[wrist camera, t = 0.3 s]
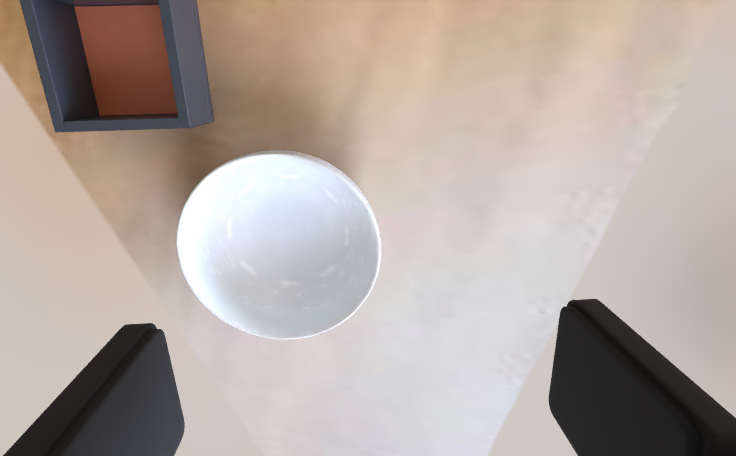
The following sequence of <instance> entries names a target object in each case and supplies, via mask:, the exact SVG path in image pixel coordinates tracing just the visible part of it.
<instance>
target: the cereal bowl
mask: <svg viewBox="0 0 736 456" xmlns="http://www.w3.org/2000/svg"><path fill="white" fill-rule="evenodd" d="M176 246H177V254H178V259H179V263H180V267H181V270H182V272H183V275H184V277H185V279H186V281H187V283H188V285H189V286H190V288H191V290H192V291H193V293H194V294H195V295H196V297H197V298H198V299H199V301H200V302H201V303H202V304H203V305H204V306H205V307H206V308H207V309H208V310H209V311H210V312H211V313H213V314H214V315H215V316H216V317H218V318H219V319H221V320H222V321H224V322H225V323H227V324H229V325H231V326H233V327H235V328H237V329H239V330H241V331H243V332H246V333H249V334H252V335H255V336H259V337H264V338H271V339H299V338H305V337H310V336H314V335H317V334H320V333H323V332H325V331H328V330H330V329H332V328H334V327H336V326H338V325H339V324H341V323H342V322H344V321H345V320H347V319H348V318H349V317H350V316H351V315H353V314H354V313H355V312H356V311H357V310H358V309H359V307H360V306H361V305H362V304H363V302H364V301H365V300H366V298H367V297H368V295H369V294H370V292H371V290H372V288H373V285H374V283H375V280H376V277H377V274H378V271H379V266H380V259H381V240H380V234H379V229H378V226H377V222H376V219H375V216H374V214H373V211H372V209H371V207H370V205H369V203H368V202H367V199H366V198H365V196H364V195H363V193H362V192H361V191H360V189H359V188H358V187H357V186H356V184H355V183H353V181H352V180H351V179H349V178H348V176H346V175H345V174H344V173H343V172H342V171H340V170H339V169H338V168H336V167H334V166H333V165H332V164H329V163H328V162H326V161H323V160H322V159H320V158H317V157H314V156H311V155H309V154H304V153H300V152H295V151H287V150H267V151H260V152H254V153H250V154H246V155H243V156H240V157H237V158H235V159H232V160H230V161H228V162H226V163H224V164H222V165H220V166H218V167H217V168H216V169H214V170H213V171H211V172H210V173H208V174H207V175H206V176H205V177H204V178H203V179H202V180H201V181H200V182H199V183H198V184H197V186H196V187H195V188H194V189H193V191H192V192H191V194H190V195H189V197H188V199H187V201H186V202H185V204H184V207H183V209H182V212H181V215H180V218H179V222H178V226H177V234H176Z"/></svg>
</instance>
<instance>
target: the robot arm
mask: <svg viewBox="0 0 736 456" xmlns="http://www.w3.org/2000/svg"><path fill="white" fill-rule="evenodd" d="M549 405H550V409H551V412H552V414H553V416H554V418H555V419H556V421H557V423H558V424H559V426H560V427H561V429H562V431H563V432H564V434H565V435H566V437H567V439H568V440H569V442H570V443H571V445H572V447H573V448H574V450H575V451H576V453H577V455H578V456H736V418H735V417H734V416H732V415H731V414H730V413H729V412H728V411H727V410H726V409H724V408H723V407H722V406H721V405H720V404H719V403H717V402H716V401H715V400H714V399H713V398H712V397H710V396H709V395H708V394H707V393H706V392H705V391H703V390H702V389H701V388H700V387H699V386H697V385H696V384H695V383H694V382H693V381H692V380H691V379H690V378H688V377H687V376H686V375H685V374H684V373H682V372H681V371H680V370H679V369H678V368H677V367H676V366H674V365H673V364H672V363H671V362H670V361H669V360H668V359H666V358H665V357H664V356H663V355H662V354H661V353H659V352H658V351H657V350H656V349H655V348H654V347H652V346H651V345H650V344H649V343H648V342H646V341H645V340H644V339H643V338H642V337H641V336H640V335H638V334H637V333H636V332H635V331H634V330H633V329H631V328H630V327H629V326H628V325H627V324H626V323H625V322H623V321H622V320H621V319H620V318H619V317H618V316H616V315H615V314H614V313H613V312H612V311H610V309H608V308H607V307H606V306H605V305H604V304H602V303H601V302H600V301H599V300H597V299H587V300H571V301H570V302H569V303H568V304H567V307H563V308H562V309H561V312H560V318H559V325H558V333H557V340H556V348H555V355H554V362H553V370H552V378H551V385H550V392H549ZM183 433H184V418H183V413H182V409H181V404H180V400H179V395H178V391H177V387H176V383H175V378H174V374H173V369H172V365H171V360H170V356H169V352H168V347H167V343H166V339H165V335H164V332H163V331H162V330H161V329H157V328H156V326H155V325H154V324H152V323H147V324H130V325H124V326H123V327H122V328H121V329H120V330H119V331H118V332H117V333H116V334H115V335H114V337H113V338H112V339H111V340H110V341H109V342H108V343H107V344H106V345H105V346H104V347H103V348H102V349H101V350H100V352H99V353H98V354H97V355H96V356H95V357H94V358H93V359H92V360H91V362H89V363H88V365H87V366H86V367H85V368H84V369H83V370H82V371H81V372H80V373H79V374H78V375H77V376H76V378H75V379H74V380H73V381H72V382H71V383H70V384H69V385H68V386H67V387H66V388H65V389H64V390H63V392H62V393H61V394H60V395H59V396H58V397H57V398H56V399H55V400H54V401H53V402H52V404H51V405H50V406H49V407H48V408H47V409H46V410H45V411H44V412H43V413H42V414H41V415H40V417H39V418H38V419H37V420H36V421H35V422H34V423H33V424H32V425H31V426H30V427H29V428H28V429H27V431H26V432H25V433H24V434H23V435H22V436H21V437H20V438H19V439H18V440H17V441H16V443H14V445H13V446H12V447H11V448H10V449H9V450H8V451H7V452H6V453H5V454H4V455H3V456H174V454H175V452H176V450H177V448H178V446H179V444H180V442H181V439H182V437H183Z"/></svg>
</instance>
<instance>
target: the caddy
mask: <svg viewBox="0 0 736 456" xmlns="http://www.w3.org/2000/svg"><path fill="white" fill-rule="evenodd" d="M20 3H21V7H22V11H23V14H24V18H25V22H26V25H27V29H28V33H29V36H30V40H31V44H32V48H33V51H34V55H35V59H36V62H37V66H38V70H39V74H40V77H41V81H42V85H43V88H44V92H45V96H46V100H47V103H48V107H49V111H50V114H51V118H52V122H53V125H54V129H55V132H82V131H113V130H143V129H173V128H191V127H195V126H199V125H202V124H206V123H209V122H213V121H214V118H213V111H212V104H211V97H210V90H209V84H208V77H207V70H206V63H205V56H204V49H203V42H202V35H201V29H200V22H199V15H198V8H197V1H196V0H20Z"/></svg>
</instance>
